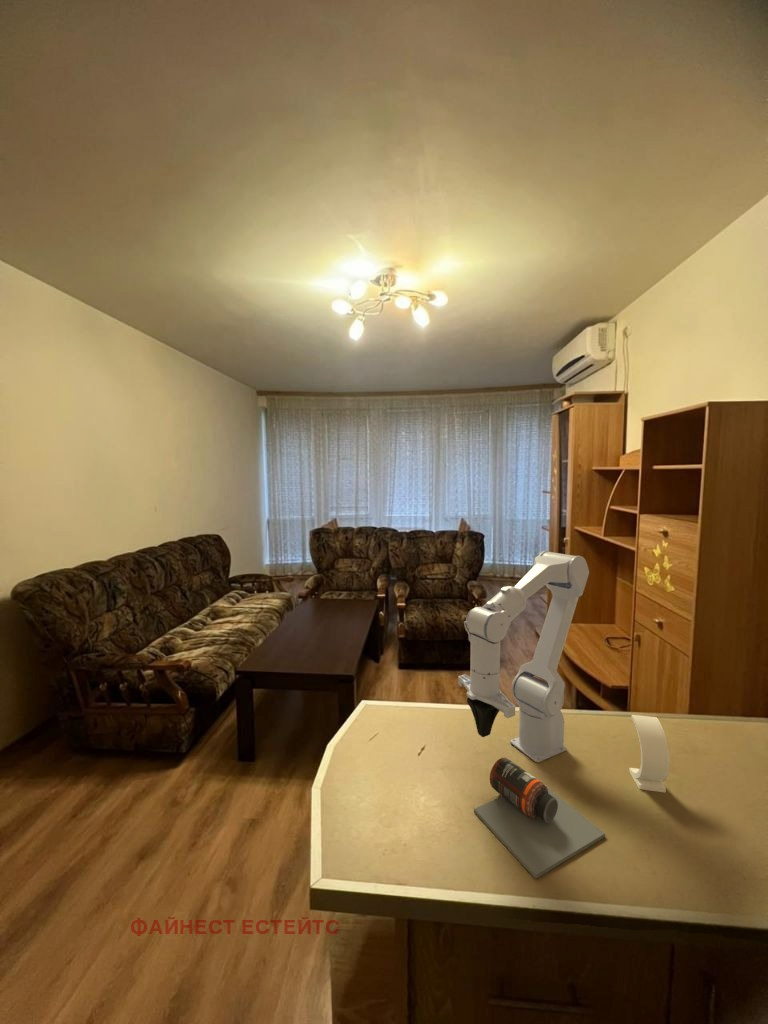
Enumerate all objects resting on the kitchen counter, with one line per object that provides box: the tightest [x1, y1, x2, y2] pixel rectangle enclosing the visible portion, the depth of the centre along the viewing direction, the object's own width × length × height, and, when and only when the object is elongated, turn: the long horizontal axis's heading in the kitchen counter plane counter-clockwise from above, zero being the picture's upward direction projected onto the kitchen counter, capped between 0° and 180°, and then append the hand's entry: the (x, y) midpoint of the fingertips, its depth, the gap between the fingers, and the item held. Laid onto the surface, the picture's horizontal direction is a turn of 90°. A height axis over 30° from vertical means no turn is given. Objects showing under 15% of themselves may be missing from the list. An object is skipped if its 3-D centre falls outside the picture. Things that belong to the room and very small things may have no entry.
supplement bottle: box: [489, 757, 558, 823], centre depth 73 cm, size 6×6×11 cm
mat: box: [473, 784, 606, 880], centre depth 70 cm, size 16×14×1 cm
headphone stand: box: [628, 714, 671, 793], centre depth 79 cm, size 5×6×12 cm
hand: (484, 734), depth 82 cm, fingers closed
